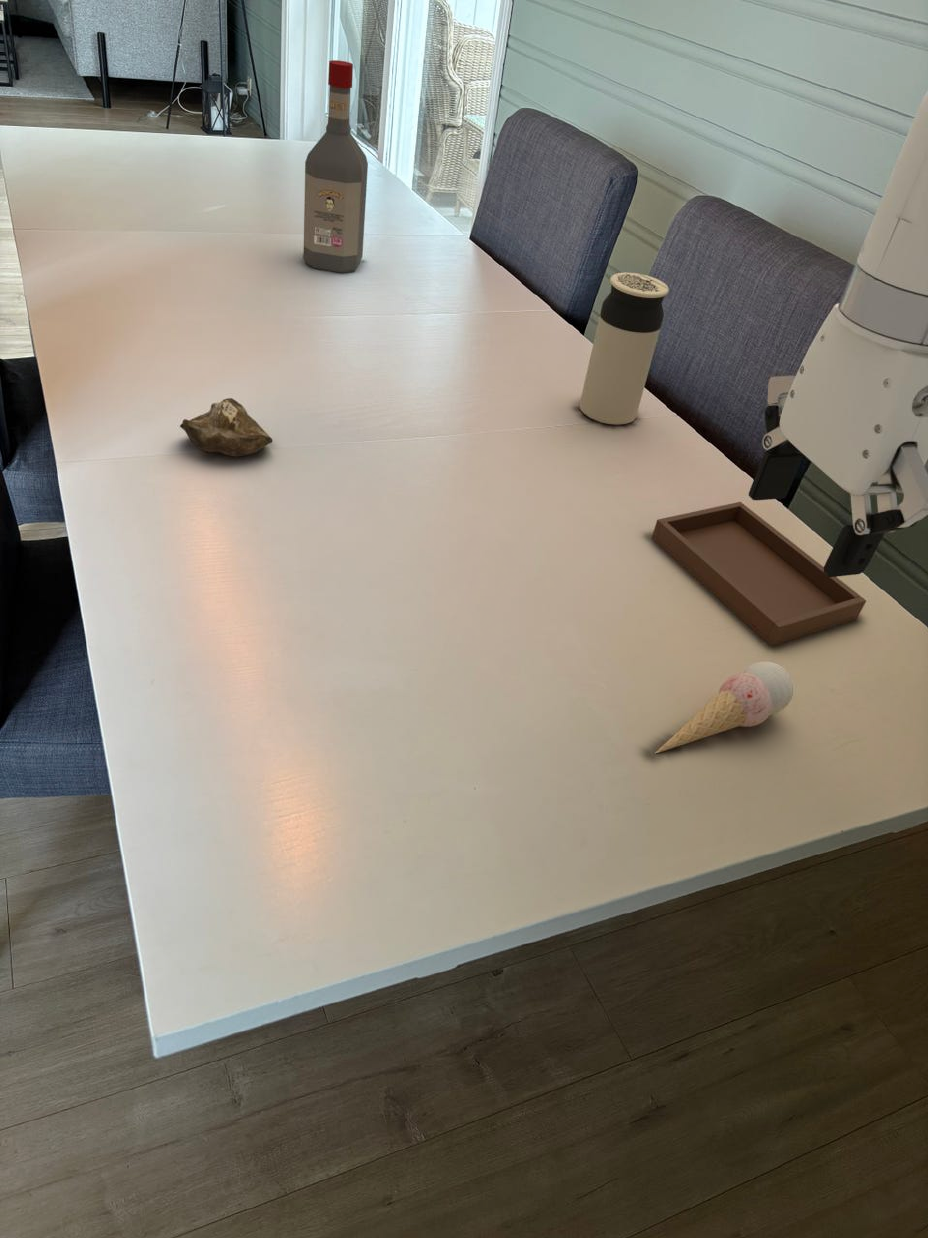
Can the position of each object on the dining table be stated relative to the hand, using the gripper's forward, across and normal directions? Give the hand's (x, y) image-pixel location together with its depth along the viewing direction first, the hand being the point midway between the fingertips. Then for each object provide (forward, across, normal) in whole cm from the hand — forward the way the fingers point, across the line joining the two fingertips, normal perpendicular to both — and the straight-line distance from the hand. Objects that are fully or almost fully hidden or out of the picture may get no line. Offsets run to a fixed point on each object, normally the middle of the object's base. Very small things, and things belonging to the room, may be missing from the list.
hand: (802, 533), depth 67 cm
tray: (+21, +19, -16) cm, 33 cm away
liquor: (+21, +113, +10) cm, 116 cm away
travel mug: (+21, +57, -17) cm, 63 cm away
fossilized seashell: (+21, +52, +35) cm, 66 cm away
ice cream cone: (+21, -1, 0) cm, 21 cm away
